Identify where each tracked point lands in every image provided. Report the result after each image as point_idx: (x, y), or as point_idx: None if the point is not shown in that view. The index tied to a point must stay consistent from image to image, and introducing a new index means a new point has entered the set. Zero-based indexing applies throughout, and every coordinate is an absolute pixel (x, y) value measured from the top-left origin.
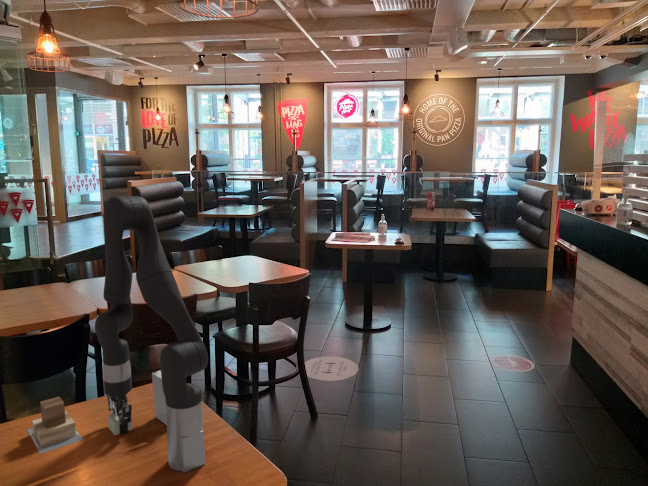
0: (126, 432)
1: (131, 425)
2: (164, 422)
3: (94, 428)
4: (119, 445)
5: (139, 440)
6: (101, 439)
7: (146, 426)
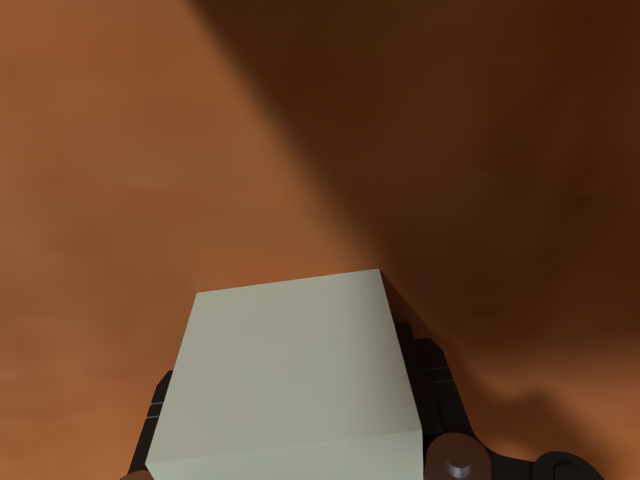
0: (434, 350)
1: (392, 327)
2: None
3: None
4: (528, 382)
5: (591, 244)
6: None
7: (347, 108)
